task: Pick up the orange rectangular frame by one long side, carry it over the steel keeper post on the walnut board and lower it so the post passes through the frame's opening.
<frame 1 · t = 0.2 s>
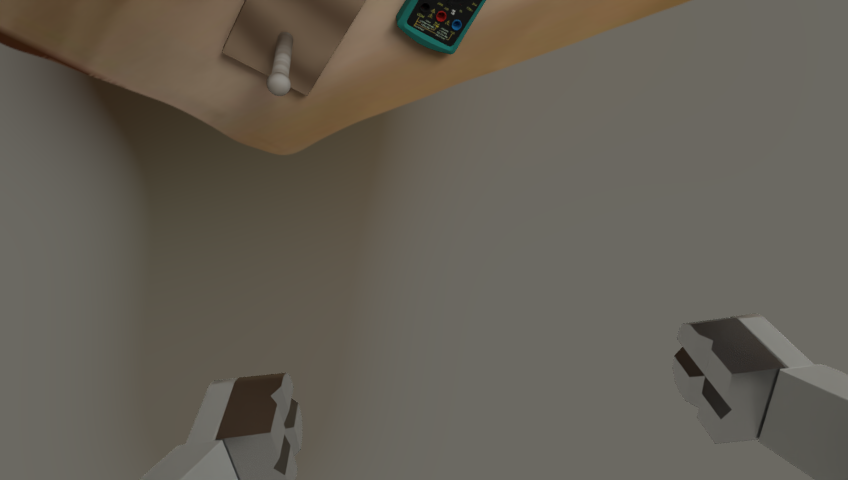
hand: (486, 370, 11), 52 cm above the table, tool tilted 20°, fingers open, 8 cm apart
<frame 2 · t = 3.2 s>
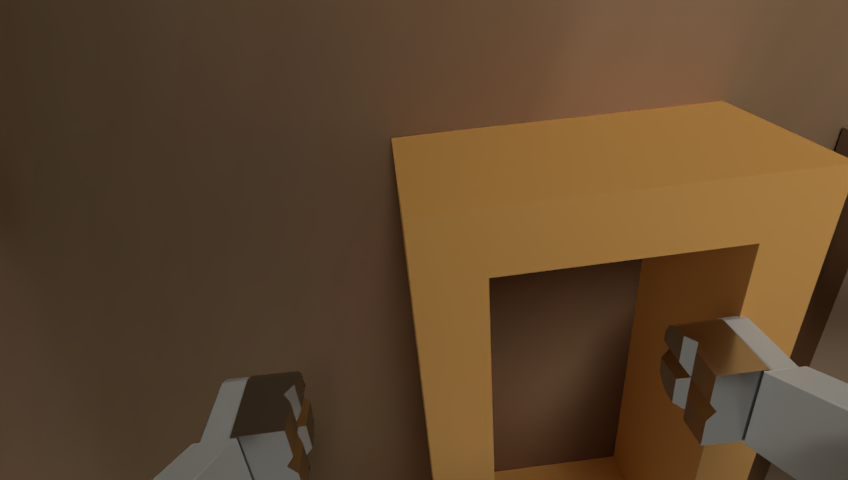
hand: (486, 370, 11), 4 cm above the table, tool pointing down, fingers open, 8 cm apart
orange rectangular frame: (548, 344, 16), on the table, touching gripper
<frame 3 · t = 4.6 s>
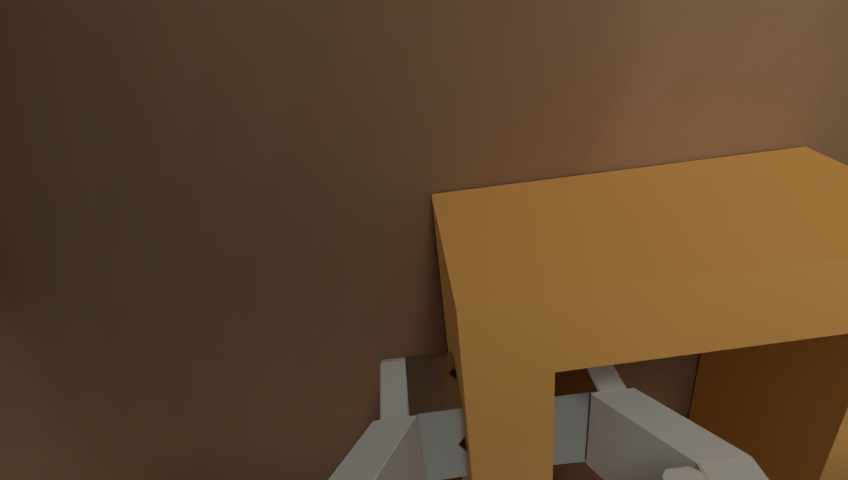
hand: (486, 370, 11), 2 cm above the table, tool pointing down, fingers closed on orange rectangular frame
orange rectangular frame: (600, 410, 14), on the table, touching gripper
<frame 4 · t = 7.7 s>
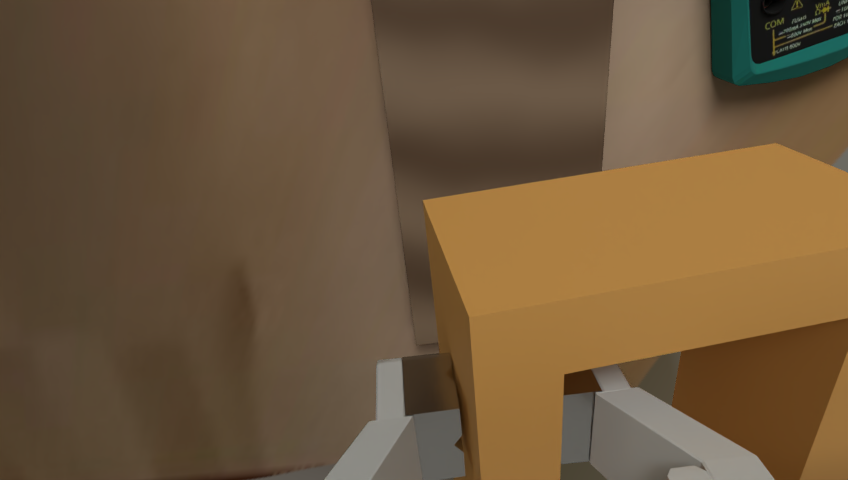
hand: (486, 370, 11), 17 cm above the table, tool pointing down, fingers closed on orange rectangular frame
orange rectangular frame: (588, 406, 14), point 15 cm above the table, tilted 5°, touching gripper
keeper board: (492, 139, 26), on the table
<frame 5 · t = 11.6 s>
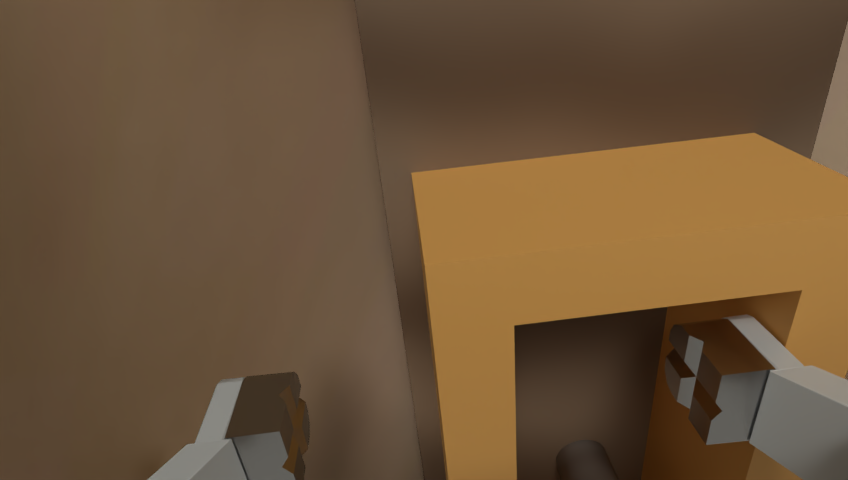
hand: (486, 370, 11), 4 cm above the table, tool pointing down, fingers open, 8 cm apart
orange rectangular frame: (571, 381, 15), point 2 cm above the table, touching gripper, keeper board
keeper board: (572, 272, 15), on the table
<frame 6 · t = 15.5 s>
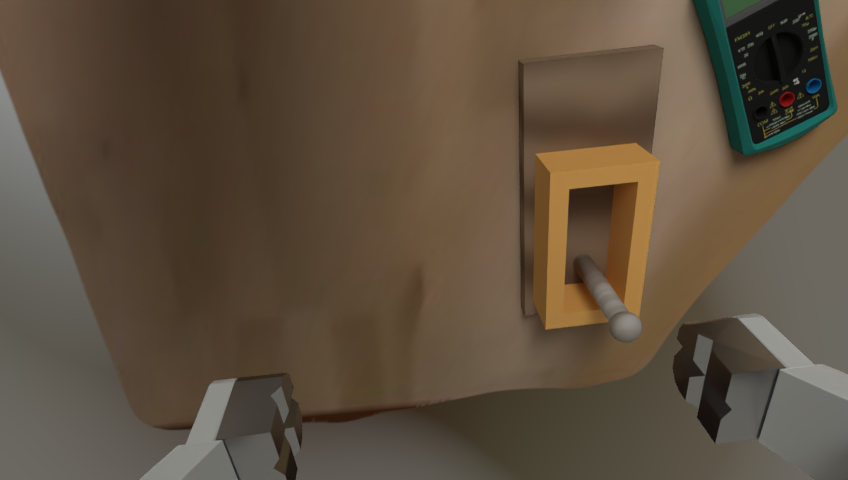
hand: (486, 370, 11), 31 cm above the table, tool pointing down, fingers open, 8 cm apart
orange rectangular frame: (580, 228, 44), point 1 cm above the table, touching keeper board
digital multimeter: (753, 46, 40), on the table
keeper board: (579, 190, 44), on the table
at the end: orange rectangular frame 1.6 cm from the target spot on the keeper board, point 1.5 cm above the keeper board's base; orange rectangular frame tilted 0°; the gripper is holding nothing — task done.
